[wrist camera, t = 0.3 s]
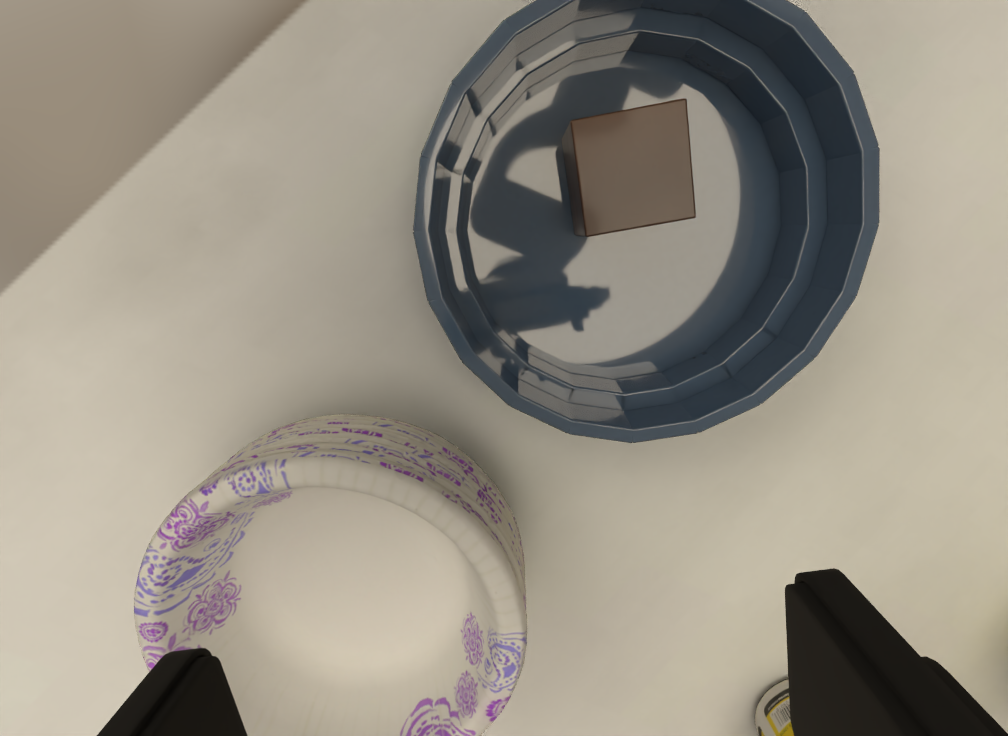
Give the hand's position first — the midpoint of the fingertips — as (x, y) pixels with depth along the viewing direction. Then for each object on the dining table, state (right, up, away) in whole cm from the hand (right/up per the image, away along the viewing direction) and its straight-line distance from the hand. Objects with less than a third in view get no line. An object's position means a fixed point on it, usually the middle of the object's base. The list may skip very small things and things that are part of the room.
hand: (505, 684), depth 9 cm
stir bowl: (+5, +11, +15) cm, 20 cm away
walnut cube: (+5, +13, +14) cm, 20 cm away
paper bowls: (-7, -3, +19) cm, 21 cm away
